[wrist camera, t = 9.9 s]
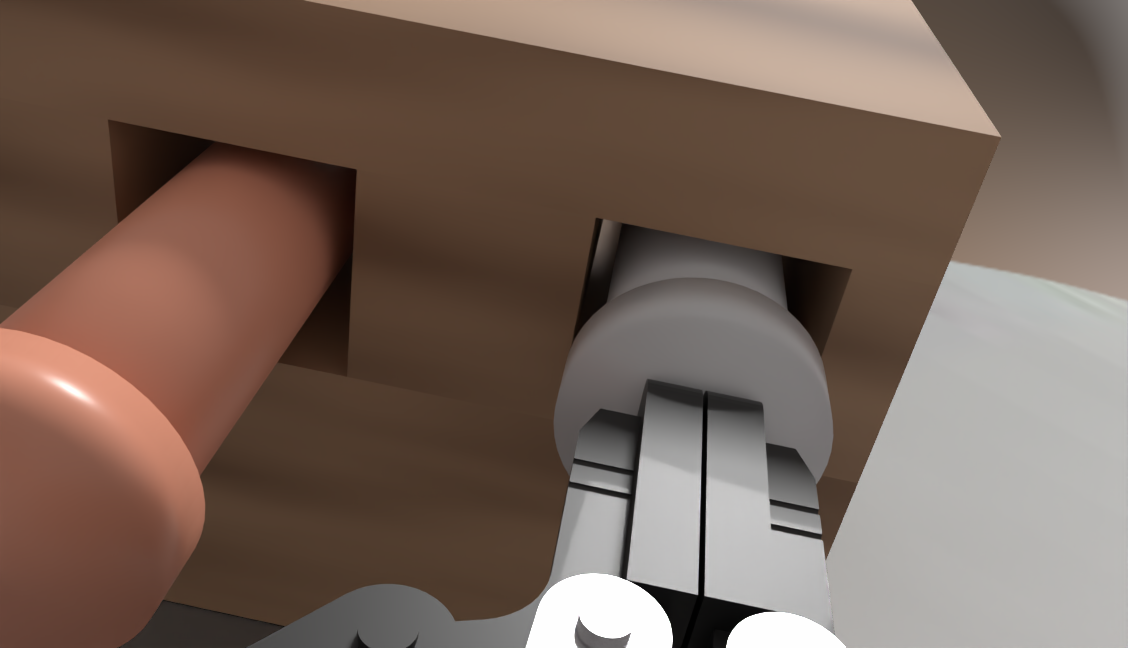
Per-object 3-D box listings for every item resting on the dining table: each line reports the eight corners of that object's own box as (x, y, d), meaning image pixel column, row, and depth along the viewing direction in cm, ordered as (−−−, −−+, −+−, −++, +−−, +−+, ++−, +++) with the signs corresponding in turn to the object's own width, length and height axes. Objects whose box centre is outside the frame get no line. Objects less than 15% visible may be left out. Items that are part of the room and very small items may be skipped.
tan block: (755, 728, 19) (1001, 137, 13) (-253, 509, 20) (-509, -159, 13) (746, 436, 27) (895, -24, 20) (20, 286, 27) (-59, -206, 21)
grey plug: (789, 562, 14) (871, 350, 12) (536, 508, 14) (577, 290, 12) (760, 203, 24) (802, 57, 22) (613, 174, 24) (643, 26, 22)
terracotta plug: (170, 688, 11) (148, 429, 9) (-148, 619, 11) (-239, 348, 9) (437, 215, 21) (453, 47, 19) (270, 182, 21) (270, 11, 19)
